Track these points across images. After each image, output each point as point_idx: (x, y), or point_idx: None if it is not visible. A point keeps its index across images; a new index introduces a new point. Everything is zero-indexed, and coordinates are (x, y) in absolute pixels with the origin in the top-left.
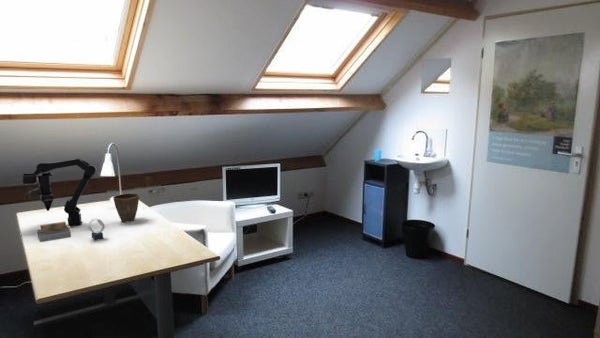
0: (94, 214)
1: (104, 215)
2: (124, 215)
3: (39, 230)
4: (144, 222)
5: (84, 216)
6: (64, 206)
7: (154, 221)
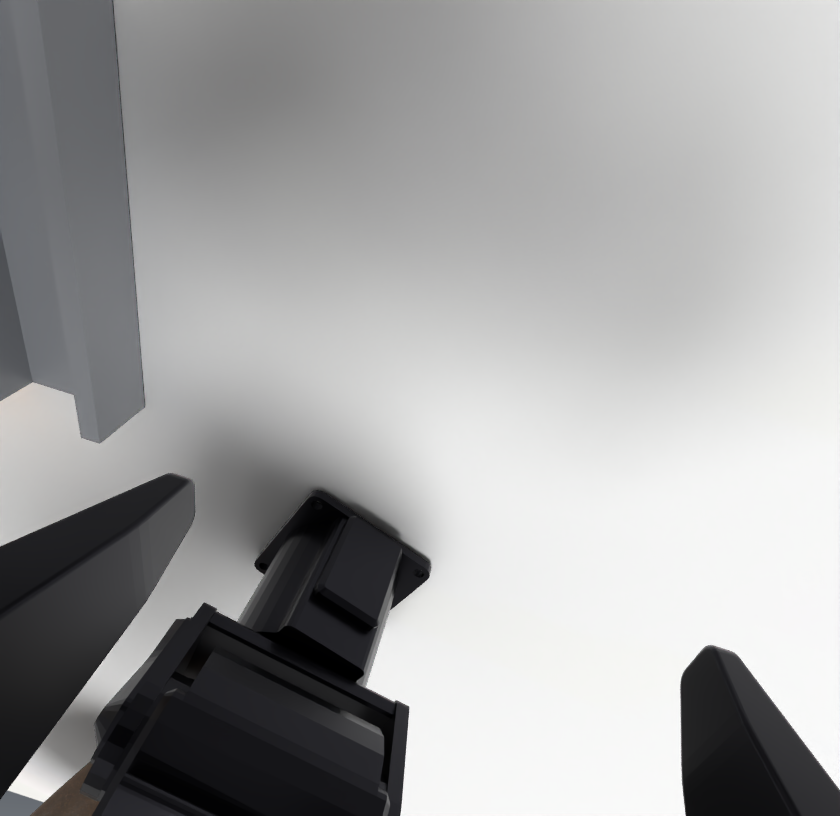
0: (611, 810)
1: (479, 806)
2: (55, 793)
3: (28, 17)
4: (56, 759)
5: (628, 751)
6: (121, 778)
7: (51, 783)
